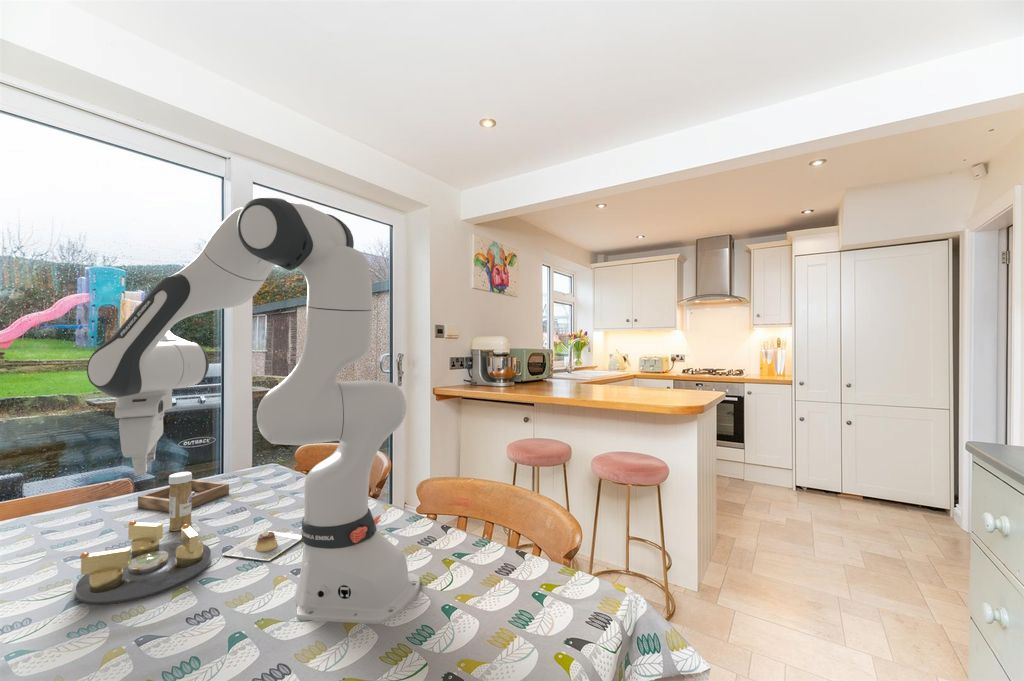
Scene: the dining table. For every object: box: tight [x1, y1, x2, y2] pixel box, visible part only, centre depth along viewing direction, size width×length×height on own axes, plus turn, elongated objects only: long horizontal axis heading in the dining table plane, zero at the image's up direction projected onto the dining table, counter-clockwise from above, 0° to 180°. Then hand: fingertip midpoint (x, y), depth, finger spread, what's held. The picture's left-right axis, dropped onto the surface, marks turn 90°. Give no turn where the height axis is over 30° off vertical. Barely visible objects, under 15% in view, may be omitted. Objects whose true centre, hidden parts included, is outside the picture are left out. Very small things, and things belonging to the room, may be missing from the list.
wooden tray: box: [137, 479, 230, 513], centre depth 123 cm, size 15×15×3 cm
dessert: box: [221, 528, 302, 562], centre depth 96 cm, size 12×12×5 cm
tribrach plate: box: [75, 541, 212, 606], centre depth 84 cm, size 20×20×4 cm
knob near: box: [176, 524, 204, 567], centre depth 85 cm, size 7×4×7 cm, turn 50°
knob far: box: [127, 520, 164, 558], centre depth 88 cm, size 7×4×7 cm, turn 85°
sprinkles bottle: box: [168, 471, 193, 532], centre depth 105 cm, size 5×5×14 cm
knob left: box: [79, 546, 132, 593], centre depth 77 cm, size 7×4×7 cm, turn 115°
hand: (145, 467), depth 88 cm, fingers open, 8 cm apart
